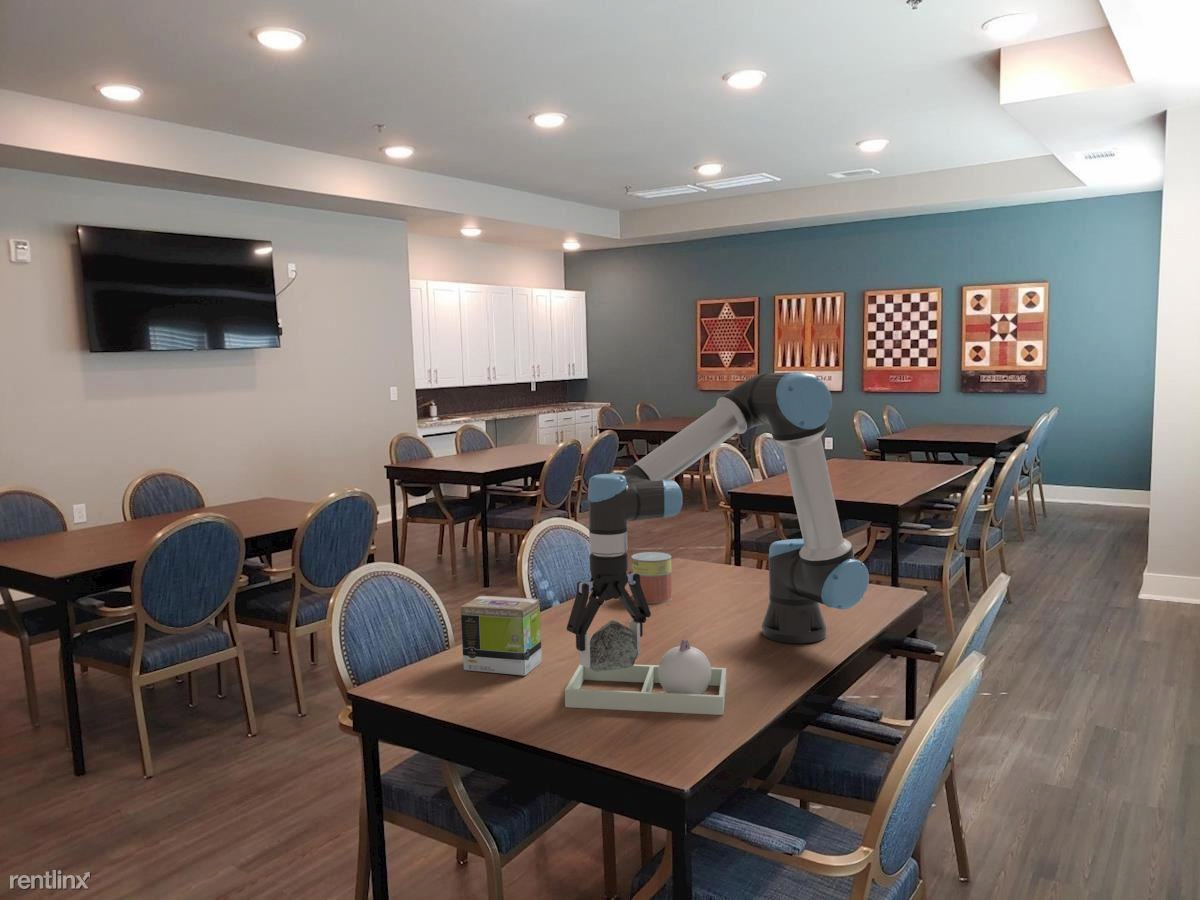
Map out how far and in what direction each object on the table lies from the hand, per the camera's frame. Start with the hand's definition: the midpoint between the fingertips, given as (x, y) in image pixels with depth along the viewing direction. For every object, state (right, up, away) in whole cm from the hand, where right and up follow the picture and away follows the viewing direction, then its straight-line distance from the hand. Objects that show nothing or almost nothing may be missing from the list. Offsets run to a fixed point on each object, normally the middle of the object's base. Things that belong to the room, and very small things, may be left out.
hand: (610, 659), depth 176 cm
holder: (+8, -7, -1) cm, 10 cm away
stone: (+1, -2, +1) cm, 2 cm away
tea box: (-24, -6, +18) cm, 31 cm away
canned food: (+13, 0, +71) cm, 72 cm away
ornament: (+15, -7, -2) cm, 17 cm away
